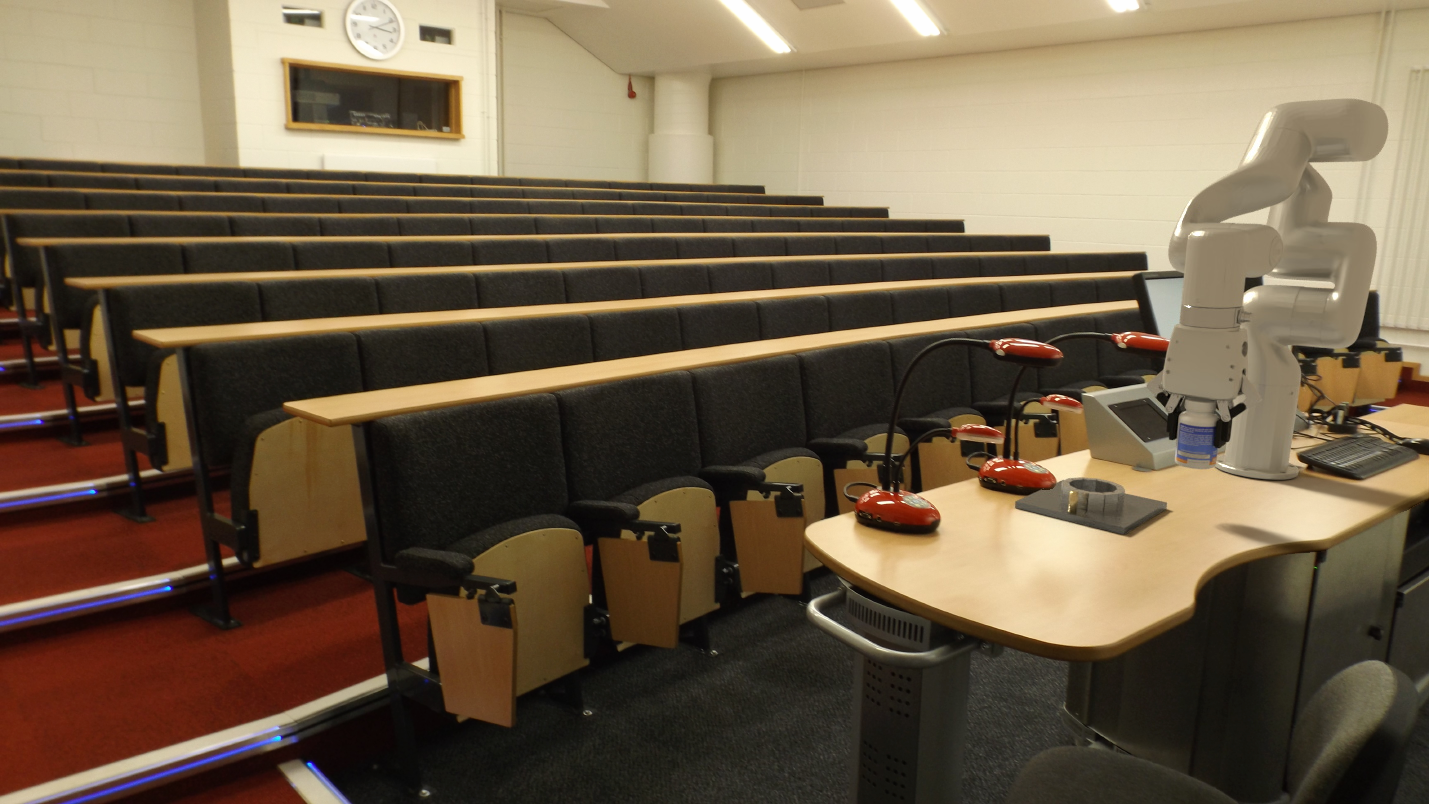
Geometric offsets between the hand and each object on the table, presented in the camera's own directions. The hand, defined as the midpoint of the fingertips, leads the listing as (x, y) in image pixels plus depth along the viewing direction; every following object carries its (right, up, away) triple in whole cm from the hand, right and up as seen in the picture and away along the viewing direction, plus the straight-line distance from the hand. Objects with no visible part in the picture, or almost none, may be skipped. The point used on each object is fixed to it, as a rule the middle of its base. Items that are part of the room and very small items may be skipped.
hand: (1197, 440), depth 132 cm
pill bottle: (0, -4, +1) cm, 4 cm away
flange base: (-14, -10, +4) cm, 18 cm away
